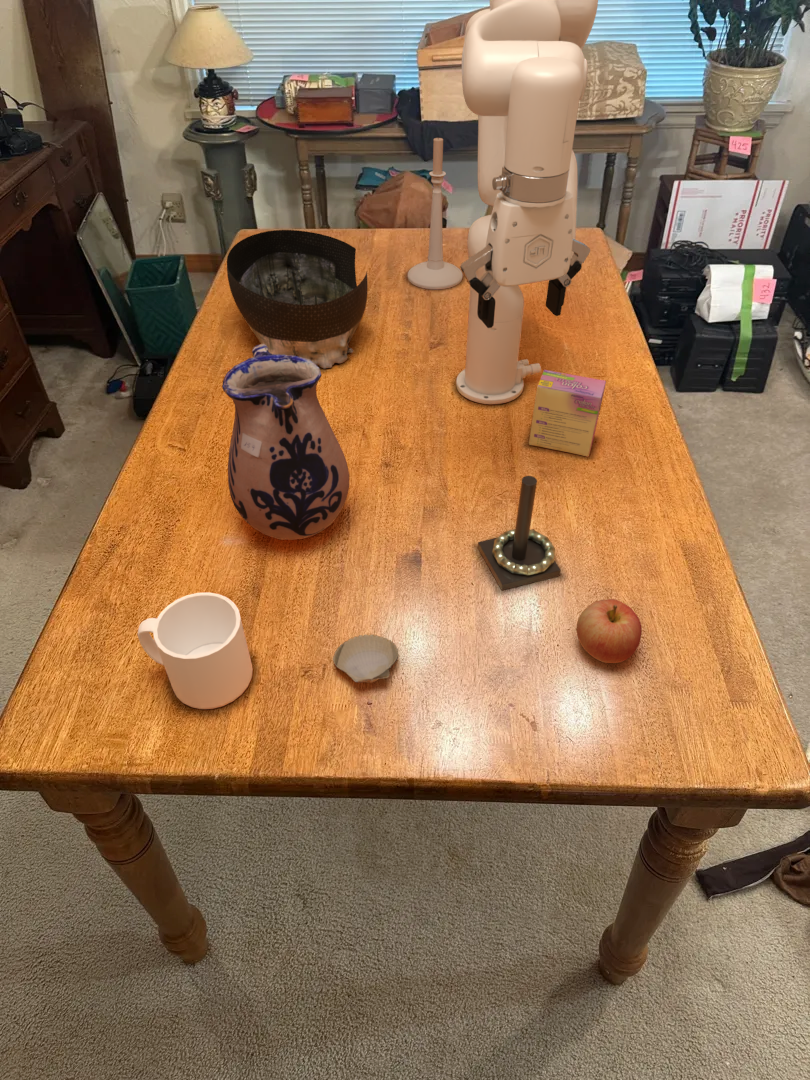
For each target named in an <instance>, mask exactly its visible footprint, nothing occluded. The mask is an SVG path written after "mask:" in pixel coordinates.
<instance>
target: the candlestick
mask: <svg viewBox="0 0 810 1080" xmlns="http://www.w3.org/2000/svg"><path fill="white" fill-rule="evenodd" d="M432 146H433V147H432V148H433V149H432V151H433V152H432V171H429V172H428V173H429V176H430V177H431V180H430V182H431V183H432V187H433V188H432V192H431V193H432V194H431V195H432V196H431V208H430V209H431V210H430V224H429V238H428V252H427V260H426V261H422V262H419V263H417V264H415V265H413V266H412V267H411V268H410V269H409V270H408V271H407V280H408V282H409V283H410V284H411V285H414V286H416V287H417V288H420V289H426V290H445V289H451V288H453V287H455V286H457V285H459V284H460V283H461V282H462V281H463V278H464V277H463V276H464V274H463V272H462V270H461V268H460V267H458V266H456V265H455V264H453V263H450V262H447V261H444V245H443V244H444V240H443V196H442V195H443V191H442V184H443V183H444V181H445V179H444V177H445V176H446V175H447V173H446V171H443V159H444V157H443V156H444V139H443V138H442V137H435V138H433V145H432Z"/></svg>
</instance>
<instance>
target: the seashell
mask: <svg viewBox="0 0 810 1080" xmlns="http://www.w3.org/2000/svg"><path fill="white" fill-rule="evenodd" d="M398 658H399V649H398V647H397V645H396V644H395V642H392V640H390V639H388V638H387V637H384V636H380V635H377V634H376V635H374V634H363V635H362V634H360V635H358V636H354V637H352V638H349V639H348V640H346V641H343V643H341V644H340V645H339V646H338V647H337V648H336V650H335V651H334V653H333V658H332V661H333V664H334V665H335V667H336V668H337V669H339V670H340V671H342V672H343V673H344V674H347V676H348V677H349V678H350V679H352V681H353V682H355V683H359V684H361V683H367V684H368V683H370V684H372V683H375V682H376V681H378V680H382V679H388V678H389V677H390V674H391V672H390V670H391V668H392V666H394V664H395V663H396V661H398Z"/></svg>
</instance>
